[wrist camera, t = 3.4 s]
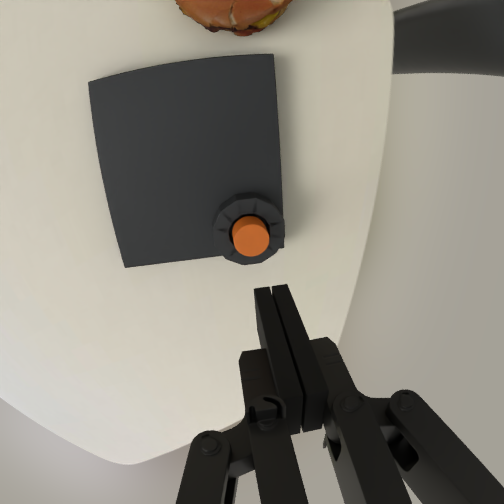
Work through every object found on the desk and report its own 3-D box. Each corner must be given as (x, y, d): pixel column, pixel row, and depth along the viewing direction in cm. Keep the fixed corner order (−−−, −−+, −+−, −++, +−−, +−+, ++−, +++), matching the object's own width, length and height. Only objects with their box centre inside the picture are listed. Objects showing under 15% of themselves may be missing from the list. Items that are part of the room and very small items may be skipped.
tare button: (264, 213, 24) (268, 222, 22) (266, 244, 25) (270, 254, 23) (230, 217, 23) (232, 226, 22) (233, 248, 25) (235, 258, 23)
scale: (270, 56, 20) (278, 50, 18) (281, 243, 28) (288, 259, 25) (94, 82, 19) (79, 81, 17) (128, 263, 27) (121, 280, 24)
